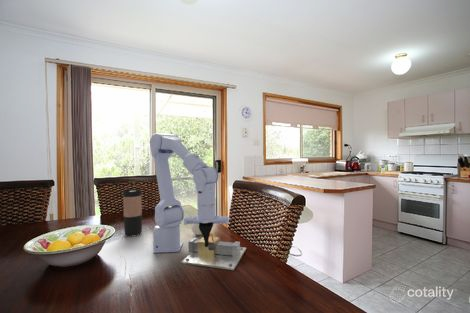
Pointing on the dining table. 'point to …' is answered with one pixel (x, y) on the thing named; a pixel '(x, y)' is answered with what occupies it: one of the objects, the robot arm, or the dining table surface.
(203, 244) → the pipe valve
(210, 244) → the lever
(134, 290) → the dining table surface
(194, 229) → the baseball
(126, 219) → the travel mug
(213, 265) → the mounting plate
